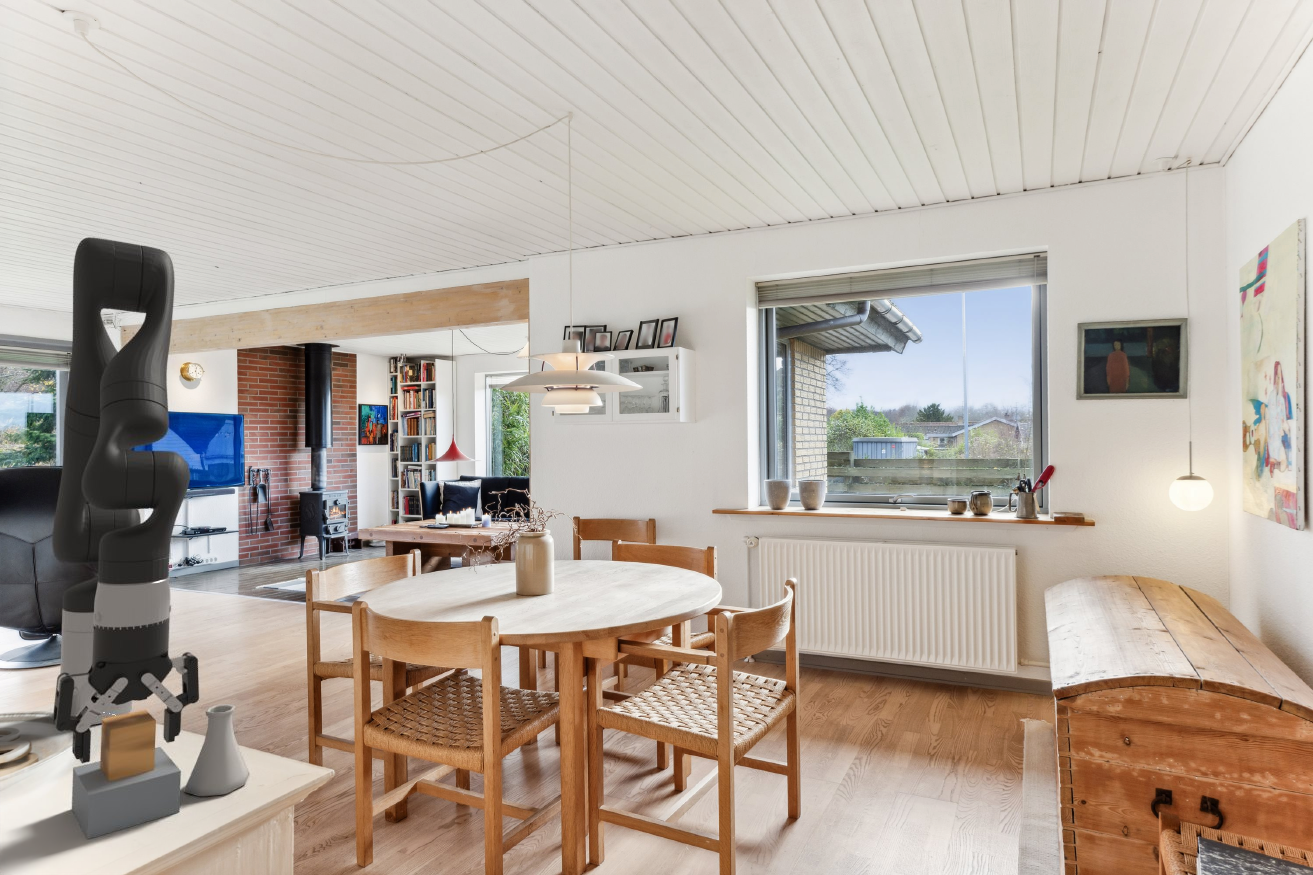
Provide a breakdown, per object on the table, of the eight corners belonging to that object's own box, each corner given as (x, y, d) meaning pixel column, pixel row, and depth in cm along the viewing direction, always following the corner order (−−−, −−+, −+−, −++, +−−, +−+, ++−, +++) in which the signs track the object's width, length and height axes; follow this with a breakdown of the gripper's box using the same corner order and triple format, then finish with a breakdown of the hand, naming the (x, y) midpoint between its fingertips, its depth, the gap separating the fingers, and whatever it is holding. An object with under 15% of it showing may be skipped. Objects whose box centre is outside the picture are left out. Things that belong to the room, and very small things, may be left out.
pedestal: (71, 808, 91) (73, 767, 91) (158, 785, 97) (160, 746, 97) (87, 839, 85) (88, 794, 85) (179, 811, 91) (180, 770, 91)
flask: (229, 799, 95) (232, 720, 94) (171, 796, 95) (174, 717, 95) (260, 773, 102) (263, 699, 102) (206, 770, 102) (209, 697, 102)
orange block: (100, 768, 91) (101, 718, 91) (144, 757, 94) (145, 709, 94) (109, 781, 88) (110, 730, 88) (154, 769, 91) (156, 720, 91)
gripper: (190, 602, 98) (185, 725, 99) (51, 618, 88) (47, 756, 88) (208, 613, 93) (204, 744, 93) (64, 633, 83) (58, 779, 83)
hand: (127, 750), depth 91 cm, fingers open, 8 cm apart
